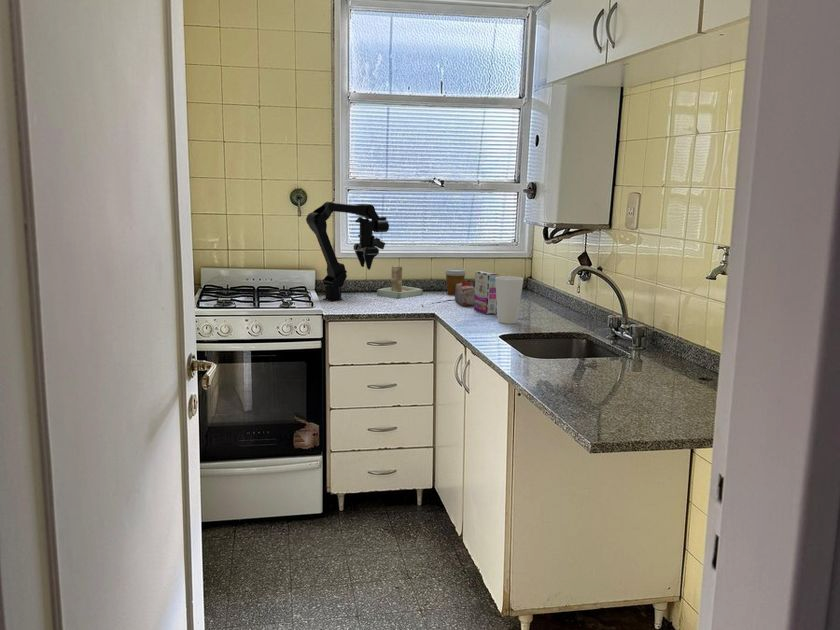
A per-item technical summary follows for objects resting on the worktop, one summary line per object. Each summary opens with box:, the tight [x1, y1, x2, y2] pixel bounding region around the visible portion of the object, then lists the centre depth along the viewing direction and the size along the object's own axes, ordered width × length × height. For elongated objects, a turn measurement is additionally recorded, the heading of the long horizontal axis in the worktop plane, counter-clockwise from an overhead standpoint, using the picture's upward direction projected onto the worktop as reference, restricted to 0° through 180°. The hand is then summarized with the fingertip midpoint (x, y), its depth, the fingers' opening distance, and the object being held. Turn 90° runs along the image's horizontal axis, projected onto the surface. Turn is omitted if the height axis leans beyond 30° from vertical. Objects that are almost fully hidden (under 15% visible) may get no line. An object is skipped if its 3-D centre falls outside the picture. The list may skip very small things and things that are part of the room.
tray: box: [376, 285, 424, 299], centre depth 345 cm, size 16×13×4 cm
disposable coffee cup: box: [444, 268, 467, 296], centre depth 350 cm, size 10×10×12 cm
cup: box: [495, 275, 525, 325], centre depth 292 cm, size 11×10×17 cm
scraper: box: [390, 265, 403, 292], centre depth 342 cm, size 4×7×13 cm, turn 21°
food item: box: [454, 281, 475, 307], centre depth 330 cm, size 14×8×10 cm, turn 15°
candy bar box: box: [473, 270, 499, 315], centre depth 312 cm, size 11×5×16 cm, turn 25°
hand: (365, 268), depth 340 cm, fingers open, 9 cm apart
